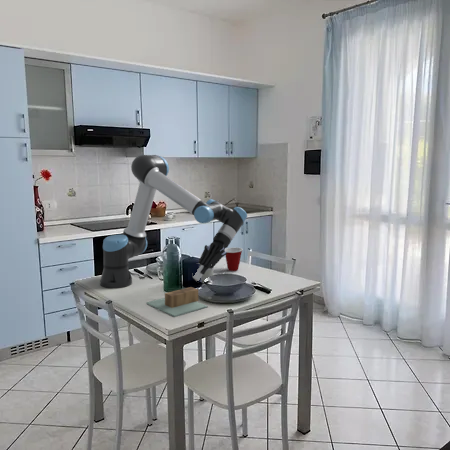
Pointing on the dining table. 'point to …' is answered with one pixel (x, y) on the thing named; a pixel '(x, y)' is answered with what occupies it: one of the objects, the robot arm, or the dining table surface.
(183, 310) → the rubber mat
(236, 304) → the dining table surface
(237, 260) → the plastic cup
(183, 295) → the walnut block
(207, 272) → the teacup
